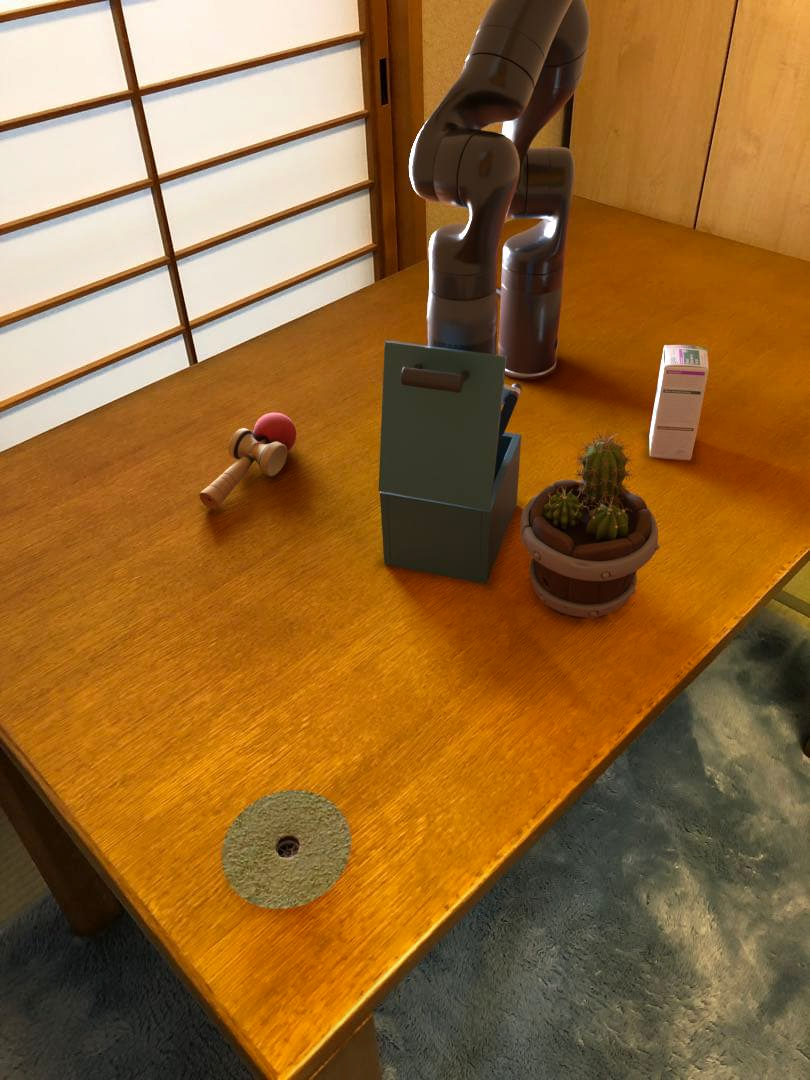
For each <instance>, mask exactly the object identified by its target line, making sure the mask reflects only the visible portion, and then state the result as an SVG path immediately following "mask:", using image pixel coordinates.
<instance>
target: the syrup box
mask: <svg viewBox="0 0 810 1080" xmlns="http://www.w3.org/2000/svg"><path fill="white" fill-rule="evenodd" d="M659 367H660V368H659V372H658V373H659V374H658V379H657V386H656V393H655V398H654V404H653V409H652V410H653V411H652V417H651V423H650V429H649V457H651V458H657V459H666V460H679V461H691V459H692V457H693V451H694V448H695V442H696V438H697V434H698V428H699V422H700V419H701V418H700V417H701V412H702V407H703V402H704V396H705V391H706V387H707V386H706V385H707V381H708V375H709V370H710V367H709V355H708V348H707V347H705V346H699V345H698V346H697V345H690V344H664V346H663V350H662V357H661V361H660V366H659Z"/></svg>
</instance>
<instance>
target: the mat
mask: <svg viewBox="0 0 810 1080" xmlns="http://www.w3.org/2000/svg"><path fill="white" fill-rule="evenodd" d="M236 816H237V817H236V818H234V820H233V821H232V822H231V824H230V826H229V827H228V829H227V832H226V834H225V836H224V839H223V843H222V848H221V859H220V861H221V864H222V871H223V873H224V876H225V878H226V881H227V882H228V883H229V885H230V887H231V889H232V890H233V891H234V892H235V893H236V894H237V895H238V896H239V897H240V898H241V899H243V900H244V901H245V902H247V903H250V904H251V905H254V906H257V907H260V908H261V907H262V908H263V909H273V910H277V909H278V910H280V909H281V910H283V909H292V908H298V907H302V906H303V905H307V904H309V903H311V902H313V901H315V900H317V899H319V897H321V896H323V895H324V894H325V893H326V892H328V891H329V890H330V889H331V888H333V886H334V885H335V883H336V882H337V881H338V880H339V879H340V878H341V877H342V875H343V873H344V871H345V869H346V867H347V865H348V863H349V859H350V856H351V850H352V834H351V829H350V826H349V823H348V819H346V818H345V816H344V813H342V811H341V809H340V808H339V807H338V806H337V805H336V804H335V803H334V802H332V801H331V800H330V799H327V798H326V797H325V796H322V795H321V794H317V793H316V792H313V791H312V792H311V791H308V790H302V789H299V790H298V789H289V790H281V791H277V792H272V793H270V794H266V795H264V796H261V797H259V798H258V799H255V800H254V802H252V803H250V804H249V805H247V807H245V808H244V809H243V810H242V811H241V812H239V814H238V815H236Z"/></svg>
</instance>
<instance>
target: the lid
mask: <svg viewBox="0 0 810 1080" xmlns="http://www.w3.org/2000/svg"><path fill="white" fill-rule="evenodd" d="M383 347H384V348H383V371H382V372H383V373H382V398H381V419H380V421H381V423H380V424H381V425H380V443H379V444H380V446H379V468H378V471H379V472H378V473H379V474H378V492H381V491H382V492H387V493H393V494H399V495H404V496H410V497H416V498H421V499H427V500H433V501H438V502H444V503H449V504H455V505H461V506H466V507H472V508H478V509H483V510H490V509H491V503H492V493H493V484H494V474H495V465H496V455H497V446H498V436H499V426H500V417H501V411H502V408H503V405H502V398H503V388H504V383H505V377H506V375H505V369H506V359H507V356H502V355H498V354H496V355H494V354H487V353H479V352H471V351H464V350H456V349H448V348H441V347H433V346H428V345H425V344H417V343H416V344H415V343H410V342H401V341H394V340H386V341H384V346H383Z"/></svg>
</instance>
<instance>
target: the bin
mask: <svg viewBox="0 0 810 1080" xmlns="http://www.w3.org/2000/svg"><path fill="white" fill-rule="evenodd" d="M521 447H522V434H521V433H513V432H506V431H505V432H504V434H503V435H502V436H498V446H497V455H496V465H495V474H494V484H493V493H492V503H491V509H490V510H483V509H478V508H472V507H466V506H461V505H455V504H449V503H444V502H438V501H433V500H427V499H421V498H416V497H410V496H404V495H399V494H393V493H387V492H382V491H379V501H380V502H379V503H380V517H381V533H382V549H383V563H384V565H387V566H391V567H396V568H400V569H405V570H412V571H417V572H421V573H427V574H432V575H435V576H436V575H437V576H442V577H446V578H451V579H455V580H456V579H457V580H461V581H466V582H472V583H477V584H482V585H486V586H487V585H488V583H489V580H490V578H491V575H492V572H493V569H494V567H495V564H496V562H497V559H498V557H499V555H500V551H501V548H502V545H503V543H504V540H505V538H506V534H507V532H508V529H509V527H510V524H511V521H512V519H513V516H514V513H515V510H516V508H517V505H518V493H519V479H520V478H519V477H520V463H521V462H520V461H521V449H522V448H521Z"/></svg>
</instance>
